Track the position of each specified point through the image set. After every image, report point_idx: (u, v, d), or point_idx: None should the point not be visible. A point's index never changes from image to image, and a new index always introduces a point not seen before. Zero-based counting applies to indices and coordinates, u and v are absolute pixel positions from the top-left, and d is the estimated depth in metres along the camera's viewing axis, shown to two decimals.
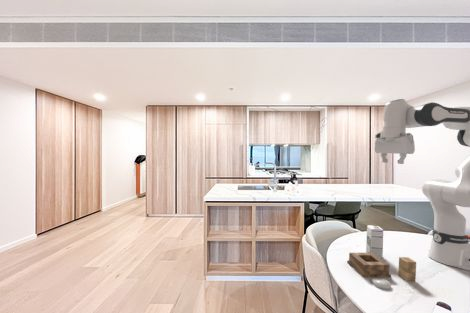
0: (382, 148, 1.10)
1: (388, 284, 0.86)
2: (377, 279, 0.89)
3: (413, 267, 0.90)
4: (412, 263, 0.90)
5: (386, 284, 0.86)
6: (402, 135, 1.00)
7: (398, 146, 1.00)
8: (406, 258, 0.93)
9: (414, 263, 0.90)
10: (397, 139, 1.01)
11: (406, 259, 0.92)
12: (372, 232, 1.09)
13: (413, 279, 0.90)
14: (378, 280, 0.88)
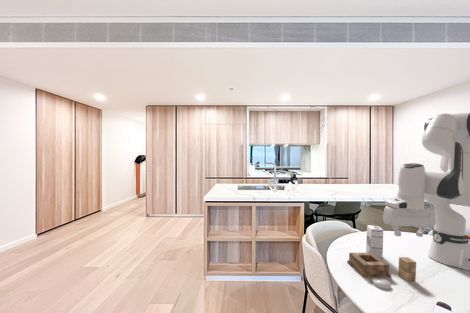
0: (402, 220, 0.89)
1: (388, 284, 0.86)
2: (377, 279, 0.89)
3: (413, 267, 0.90)
4: (412, 263, 0.90)
5: (386, 284, 0.86)
6: (424, 205, 0.91)
7: (425, 219, 0.90)
8: (406, 258, 0.93)
9: (414, 263, 0.90)
10: (423, 210, 0.90)
11: (406, 259, 0.92)
12: (372, 232, 1.09)
13: (413, 279, 0.90)
14: (378, 280, 0.88)
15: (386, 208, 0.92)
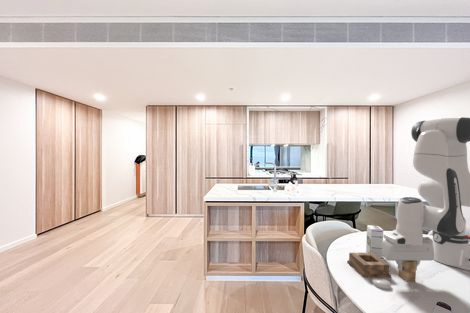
0: (400, 255, 0.90)
1: (388, 284, 0.86)
2: (377, 279, 0.89)
3: (413, 267, 0.90)
4: (412, 263, 0.90)
5: (386, 284, 0.86)
6: None
7: (424, 253, 0.90)
8: None
9: (414, 263, 0.90)
10: (422, 245, 0.90)
11: None
12: (372, 232, 1.09)
13: (413, 279, 0.90)
14: (378, 280, 0.88)
15: (385, 242, 0.92)
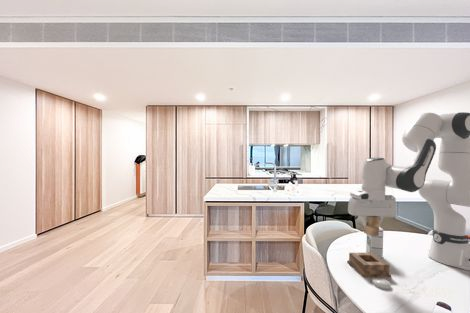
0: (364, 211, 0.95)
1: (388, 284, 0.86)
2: (377, 279, 0.89)
3: (376, 222, 0.95)
4: (375, 218, 0.95)
5: (386, 284, 0.86)
6: (385, 197, 0.97)
7: (386, 209, 0.96)
8: None
9: (377, 218, 0.95)
10: (384, 201, 0.96)
11: (371, 216, 0.97)
12: None
13: (376, 234, 0.95)
14: (378, 280, 0.88)
15: (350, 199, 0.98)
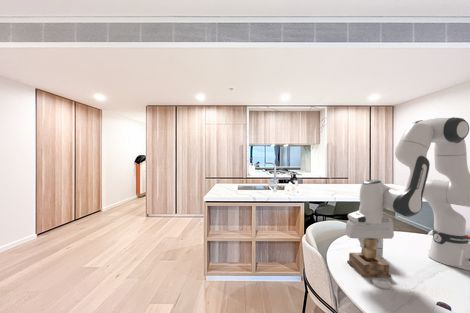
0: (361, 233, 0.96)
1: (388, 284, 0.86)
2: (377, 279, 0.89)
3: (374, 244, 0.96)
4: (373, 241, 0.96)
5: (386, 284, 0.86)
6: (382, 219, 0.98)
7: (384, 232, 0.96)
8: None
9: (375, 241, 0.96)
10: (382, 224, 0.96)
11: None
12: None
13: (374, 256, 0.96)
14: (378, 280, 0.88)
15: (348, 221, 0.99)
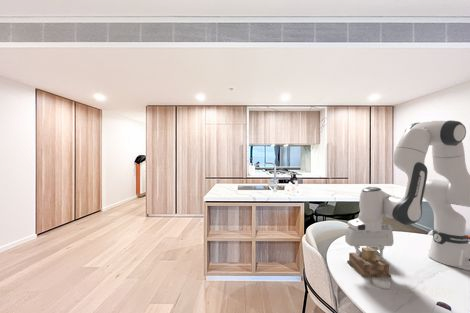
0: (361, 241, 0.96)
1: (388, 284, 0.86)
2: (377, 279, 0.89)
3: (373, 256, 0.96)
4: (372, 252, 0.96)
5: (386, 284, 0.86)
6: (382, 226, 0.98)
7: (383, 239, 0.97)
8: (368, 248, 0.99)
9: (374, 252, 0.96)
10: (381, 231, 0.96)
11: (368, 249, 0.98)
12: None
13: None
14: (378, 280, 0.88)
15: (348, 229, 0.99)
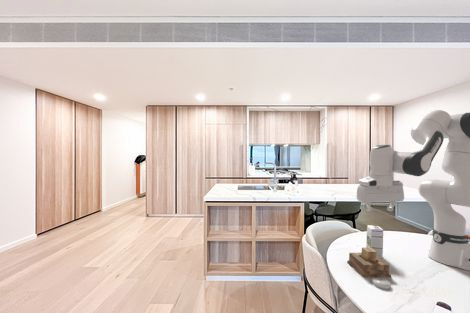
0: (373, 197, 0.98)
1: (388, 284, 0.86)
2: (377, 279, 0.89)
3: (373, 256, 0.96)
4: (372, 252, 0.96)
5: (386, 284, 0.86)
6: (393, 182, 1.00)
7: (394, 194, 0.99)
8: (368, 248, 0.99)
9: (374, 252, 0.96)
10: (392, 187, 0.98)
11: (368, 249, 0.98)
12: (372, 232, 1.09)
13: None
14: (378, 280, 0.88)
15: (359, 187, 1.01)
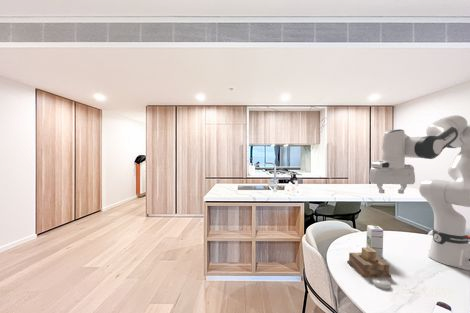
0: (385, 179, 1.02)
1: (388, 284, 0.86)
2: (377, 279, 0.89)
3: (373, 256, 0.96)
4: (372, 252, 0.96)
5: (386, 284, 0.86)
6: (404, 166, 1.04)
7: (406, 177, 1.02)
8: (368, 248, 0.99)
9: (374, 252, 0.96)
10: (404, 170, 1.02)
11: (368, 249, 0.98)
12: (372, 232, 1.09)
13: None
14: (378, 280, 0.88)
15: (371, 169, 1.05)
